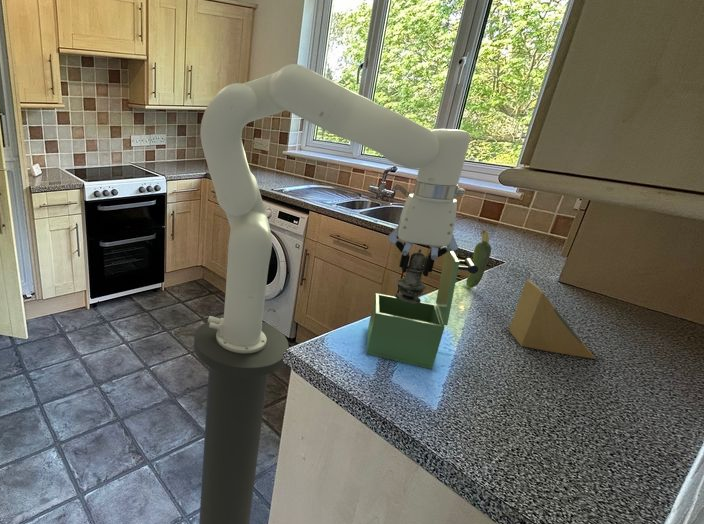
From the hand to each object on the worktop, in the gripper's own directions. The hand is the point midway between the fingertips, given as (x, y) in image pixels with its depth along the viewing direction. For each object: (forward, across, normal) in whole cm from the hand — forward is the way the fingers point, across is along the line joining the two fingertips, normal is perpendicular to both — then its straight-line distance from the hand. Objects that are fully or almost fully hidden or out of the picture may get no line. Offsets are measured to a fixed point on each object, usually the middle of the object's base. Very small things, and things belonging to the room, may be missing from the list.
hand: (414, 271), depth 91 cm
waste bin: (+20, 0, 0) cm, 20 cm away
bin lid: (+2, -6, 0) cm, 6 cm away
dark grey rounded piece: (+7, 0, 0) cm, 7 cm away
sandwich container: (+20, -36, -20) cm, 46 cm away
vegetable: (+20, -24, -50) cm, 59 cm away
